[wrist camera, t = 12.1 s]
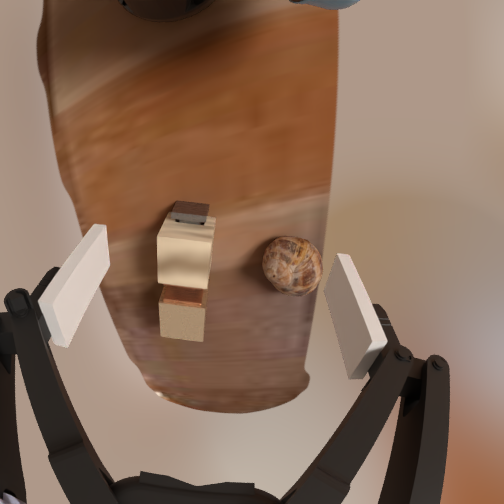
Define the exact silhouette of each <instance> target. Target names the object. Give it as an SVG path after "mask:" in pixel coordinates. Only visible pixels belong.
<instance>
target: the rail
mask: <svg viewBox="0 0 504 504" xmlns="http://www.w3.org/2000/svg"><path fill="white" fill-rule="evenodd" d="M208 211H209V204H202V203H193V202H184V201H176V203H175V205H174V207H173V210H172V212H171V219H179V220H180V221H179V223H188V224H196V225H201V222H205V223H206V220H207V216H208ZM209 280H210V279H208V286H207V289H202V290H200V289H192V288H185V287H177V286H169V285H164V287H163V290H162V294H161V297H160V300H159V317H160V332H161V336H162V337H169V338H176V339H183V340H191V341H199V342H203V337H204V329H205V321H206V313H207V302H208V291H209Z"/></svg>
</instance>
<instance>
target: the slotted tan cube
mask: <svg viewBox="0 0 504 504" xmlns="http://www.w3.org/2000/svg"><path fill="white" fill-rule="evenodd" d="M215 222H216V217H208V216H207V220H206V223H205V224H204V225H196V224H188V223H179V222H178V219H171V212H168V214H167V217H166V219H165V221H164V223H163V225H162V227H161V229H160V231H159V233H158V235H157V266H158V283H163V285H169V286H177V287H185V288H192V289H200V290H202V289H207V286H208V279H209V273H210V266H211V260H212V250H213V240H214V231H215Z"/></svg>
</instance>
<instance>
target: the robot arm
mask: <svg viewBox="0 0 504 504" xmlns="http://www.w3.org/2000/svg"><path fill="white" fill-rule="evenodd" d="M118 1H119V2H120V4H121V5H122V6H123V7H124V8H125V9H126V10H127V11H129V12H130V13H132V14H134V15H136V16H138V17H140V18H143V19H145V20H149V21H155V22H170V21H176V20H181V19H184V18H187V17H190V16H192V15H194V14H196V13H198V12H200V11H202V10H203V9H205V8H206V7H208V6H209V5H210V4H211V3H212V2H213V1H214V0H118ZM289 1H290V2H292V3H295V4H298V3H299V4H309V5H313V6H317V7H321V8H325V9H329V10H331V9H332V10H338V9H344V8H347V7H350V6H351V5H354V4H355V3H357V2H358V1H360V0H289ZM109 267H110V259H109V251H108V241H107V231H106V225H99V224H94V225H93V226H92V227H91V229H90V230H89V231H88V232H87V234H86V235H85V236H84V237H83V239H82V240H81V241H80V243H79V244H78V245H77V246H76V248H75V249H74V250H73V252H72V253H71V254H70V256H69V257H68V258H67V260H66V261H65V263H64V264H63V265H62V267H61V268H59V267H54V268H52V269H51V270H49V271H48V272H47V273H46V275H45V276H44V277H43V278H42V280H41V281H40V283H39V285H37V287H36V288H35V290H34V291H33V293H32V294H31V295H29V293H28V291H27V290H25V289H22V288H18V289H14V290H12V291H10V292H9V293H8V294H7V295H6V297H5V298H4V304H5V306H6V309H7V311H8V312H2V313H0V504H27V501H26V489H25V482H24V477H23V471H22V465H21V458H20V452H19V443H18V434H17V423H16V406H15V354H17V355H18V360H19V364H20V368H21V372H22V376H23V379H24V383H25V386H26V390H27V393H28V396H29V399H30V402H31V406H32V409H33V411H34V414H35V417H36V420H37V423H38V426H39V428H40V431H41V433H42V436H43V439H44V441H45V443H46V446H47V448H48V451H49V455H48V458H49V462H50V464H51V466H52V469H53V471H54V473H55V475H56V477H57V479H58V481H59V483H60V485H61V487H62V489H63V491H64V493H65V495H66V497H67V498H68V500H69V502H70V504H341V503H342V501H343V500H344V498H345V497H346V495H347V494H348V492H349V490H350V483H351V481H352V480H353V478H354V477H355V475H356V474H357V472H358V470H359V469H360V467H361V465H362V464H363V462H364V461H365V459H366V457H367V455H368V454H369V452H370V450H371V448H372V447H373V445H374V443H375V441H376V440H377V437H378V436H379V434H380V432H381V430H382V428H383V427H384V425H385V423H386V421H387V419H388V417H389V415H390V413H391V411H392V409H393V407H394V405H395V403H396V401H397V399H398V396H401V402H400V409H399V415H398V420H397V426H396V431H395V436H394V442H393V446H392V451H391V456H390V460H389V464H388V468H387V472H386V476H385V480H384V484H383V487H382V491H381V494H380V498H379V501H378V504H440V500H441V494H442V487H443V480H444V474H445V465H446V456H447V446H448V432H449V409H450V378H449V377H450V375H449V365H448V363H447V361H446V360H445V359H444V358H442V357H441V356H439V355H431V356H430V357H429V358H428V359H427V360H426V361H425V360H421V359H418V358H414V357H413V354H412V353H411V351H410V350H409V349H407V348H406V347H404V346H402V345H400V343H399V340H398V338H397V336H396V334H395V332H394V329H393V327H392V326H391V323H390V320H388V316H387V314H386V312H385V310H384V309H383V308H382V307H381V306H380V305H379V304H372V303H371V301H370V299H369V296H368V295H367V292H366V290H365V288H364V285H363V283H362V281H361V279H360V277H359V275H358V272H357V270H356V268H355V266H354V264H353V262H352V260H351V258H350V256H349V255H347V254H339V253H337V255H336V258H335V261H334V263H333V266H332V269H331V272H330V275H329V278H328V280H327V283H326V286H325V289H324V293H325V296H326V300H327V303H328V306H329V310H330V313H331V317H332V320H333V324H334V327H335V330H336V334H337V338H338V341H339V345H340V349H341V352H342V356H343V360H344V363H345V367H346V370H347V375H348V378H349V379H363V378H364V377H365V375H366V374H367V372H368V373H369V376H370V379H369V380H368V382H367V383H366V385H365V386H364V388H363V389H362V390H361V391H362V392H361V393H360V395H359V396H358V398H357V400H356V401H355V403H354V404H353V406H352V407H351V409H350V410H349V412H348V413H347V415H346V416H345V418H344V419H343V421H342V422H341V424H340V425H339V427H338V428H337V430H336V431H335V432H334V434H333V435H332V437H331V438H330V439H329V441H328V442H327V444H326V445H325V446H324V448H323V449H322V450H321V452H320V453H319V454H318V456H317V457H316V458H315V460H314V461H313V462H312V463H311V465H310V466H309V467H308V469H307V470H306V471H305V472H304V474H303V475H302V476H301V477H300V478H299V480H298V481H297V482H296V483H295V484H294V485H293V486H292V487H291V489H290V490H289V491H288V492H287V493H286V494H285V495H284V496H283V497H282V498H281V499H280V500H279V499H278V498H276V497H275V496H273V495H271V494H269V493H267V492H265V491H263V490H260V489H256V488H254V483H236V482H224V483H218V484H210V485H203V486H194V485H191V484H189V483H186V482H183V481H180V480H177V479H175V478H172V477H170V476H166V475H159V474H153V473H148V472H143V471H141V472H140V476H134V477H128V478H125V479H122V480H119V481H117V482H114V480H113V479H112V477H111V476H110V474H109V473H108V471H107V470H106V468H105V467H104V465H103V464H102V462H101V460H100V459H99V457H98V455H97V453H96V452H95V450H94V448H93V446H92V444H91V442H90V440H89V438H88V436H87V435H86V432H85V431H84V428H83V426H82V425H81V422H80V420H79V418H78V416H77V414H76V412H75V410H74V407H73V405H72V403H71V401H70V398H69V396H68V394H67V391H66V389H65V386H64V384H63V381H62V379H61V377H60V374H59V371H58V369H57V366H56V363H55V360H54V358H53V355H52V352H51V349H50V346H49V344H48V341H49V339H50V337H52V340H53V342H54V344H55V345H59V346H63V347H66V348H68V346H69V344H70V342H71V340H72V338H73V335H74V334H75V331H76V329H77V327H78V325H79V323H80V321H81V319H82V317H83V315H84V313H85V311H86V309H87V307H88V305H89V303H90V301H91V299H92V298H93V295H94V294H95V292H96V290H97V288H98V286H99V285H100V283H101V281H102V279H103V277H104V275H105V274H106V272H107V270H108V268H109Z"/></svg>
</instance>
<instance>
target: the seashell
mask: <svg viewBox="0 0 504 504" xmlns="http://www.w3.org/2000/svg"><path fill="white" fill-rule="evenodd" d="M262 265H263V271H264V274H265V276H266V278H267V279H268V280H269V281H270V282H271V283H272V284H273V285H274V287H275V288H276V289H277V290H279V291H280V292H281V293H283V294H285V295H288V296H293V297H294V296H304V295H306V294H308V293H310V292H312V291H313V290H314V289H315V288H316V287H317V286H318V284H319V282H320V280H321V277H322V272H323V264H322V259H321V256H320V253H319V252H318V250H317V249H316V248H315V247H314V246H313V245H312V244H311V243H310V242H309V241H308V240H305V239H302V238H298V237H292V236H284V237H280V238H277V239H275V240H274V241H273V242H272V243H271V244H269V246H268V247H267V249H266V250H265V252H264V255H263V262H262Z"/></svg>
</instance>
